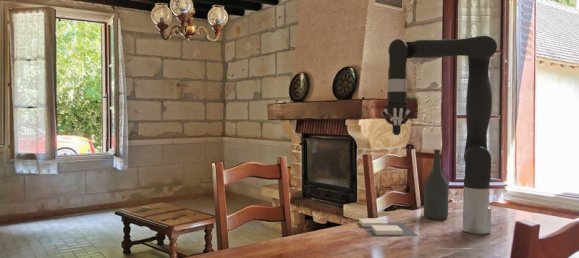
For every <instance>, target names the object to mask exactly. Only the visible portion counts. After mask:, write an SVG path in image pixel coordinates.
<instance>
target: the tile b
mask: <svg viewBox="0 0 579 258" xmlns="http://www.w3.org/2000/svg"><path fill="white" fill-rule="evenodd" d="M371 230H372V231H373V232H374V233H375V234H376V235H403V230H402V229H401V228H400V227H398V226H397V225H372V227H371Z"/></svg>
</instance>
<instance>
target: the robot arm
mask: <svg viewBox="0 0 579 258" xmlns="http://www.w3.org/2000/svg"><path fill="white" fill-rule="evenodd" d="M497 49H498V45H497V41H496V40H495V39H494V38H493V37H492V36H490V35H486V34H481V35H479V36H478V35H477V36H472V37H465V38H457V39H417V40H413V41H404V39H401V38H397V39H394V40H392V42H390V43H389V46H388V57H389V61H388V62H389V63H388V65H389V66H388V75H387V80H388V81H387V85H386V86H387V89H386V91H387V93H386V94H387V95H386V106H385V109H383V110H382V111H380V115H381V116H382V117H383V118H384V120H385V121H386V123H387V124H388V125H391V126H392V131H391V132H392V134H393V135H394V136H399V135H400V134H401V128H402V127H401V126H402V125H405V124H406V123H407V122H408V120H409V119H410V118H411V117H412V115H413V114H414V111H411V110H410V109H408V108H409V107H408V102H407V101H408V98H407V97H408V84H407V83H408V82H407V74H408V73H407V61H408V59H414V58H415V59H434V58H444V57H453V56H454V57H456V56H457V57H458V56H460V57H462V56H463V57H467V62H468V78H467V86H466V87H467V88H466V101H465V103H466V104H465V120H466V138H465V139H466V140H465V146H464V147H465V148H464V152H463V161H464V178H463V202H462V203H463V207H462V209H463V210H462V212H463V214H462V231H463V232H465V233H469V234H474V235H476V234H477V235H485V234H491V232H492V208H491V207H490V186H491V185H490V183H491V180H492V179H491V177H492V156H491V153H490V151H489V150H488V141H487V139H488V134H487V133H488V129H489V125H490V121H491V117H492V107H493V91H492V86H491V80H490V76H489V74H490V73H489V72H490V71H489V70H490V69H489V68H490V61H491V60H490V59H491V57H493V55H494V54H496V52H497ZM388 114H389V115H388ZM404 115H405V116H404ZM389 116H391V118H390V117H389ZM403 116H404V117H403Z"/></svg>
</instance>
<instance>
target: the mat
mask: <svg viewBox="0 0 579 258" xmlns="http://www.w3.org/2000/svg"><path fill="white" fill-rule="evenodd" d="M387 222H388V221H387ZM388 225H397V226H398V227H400V228H401V229H402V230H403V235H376V234H375V233H374V232H373V231H372V230H371V227H363V226H362V225H361V224H360V226H361V227H362V228H363V229H364V231H365V232H366V233H367V234H368V236H369V237H374V238H375V237H419V235H418V234H417V233H415V232H414V231H413V230H412V229H411V228H409V226H407V225H406V224H405V223H404V222H402V221H401V222H398V221H396V222H395V221H393V222H392V221H391V222H388Z"/></svg>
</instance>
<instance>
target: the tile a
mask: <svg viewBox="0 0 579 258" xmlns="http://www.w3.org/2000/svg"><path fill="white" fill-rule="evenodd" d="M358 220H359V222H358V223H359V224H360V226H361V225H362V226H363V227H372V225H388V221H387V220H385V219H384V218H383V217H382V218H379V217H376V218H374V217H373V218H371V217H370V218H368V217H367V218H366V217H365V218H359V219H358ZM362 226H361V227H362ZM363 227H362V228H363Z"/></svg>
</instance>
